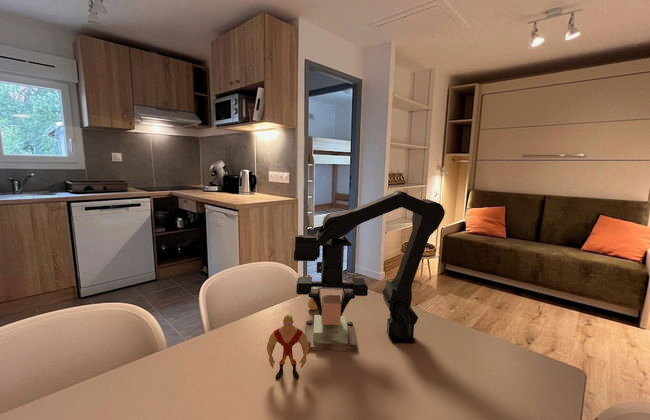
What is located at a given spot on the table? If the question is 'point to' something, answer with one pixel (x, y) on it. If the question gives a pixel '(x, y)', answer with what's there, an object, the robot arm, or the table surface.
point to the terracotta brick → (331, 309)
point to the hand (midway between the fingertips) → (330, 315)
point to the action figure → (287, 344)
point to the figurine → (311, 302)
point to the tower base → (332, 346)
